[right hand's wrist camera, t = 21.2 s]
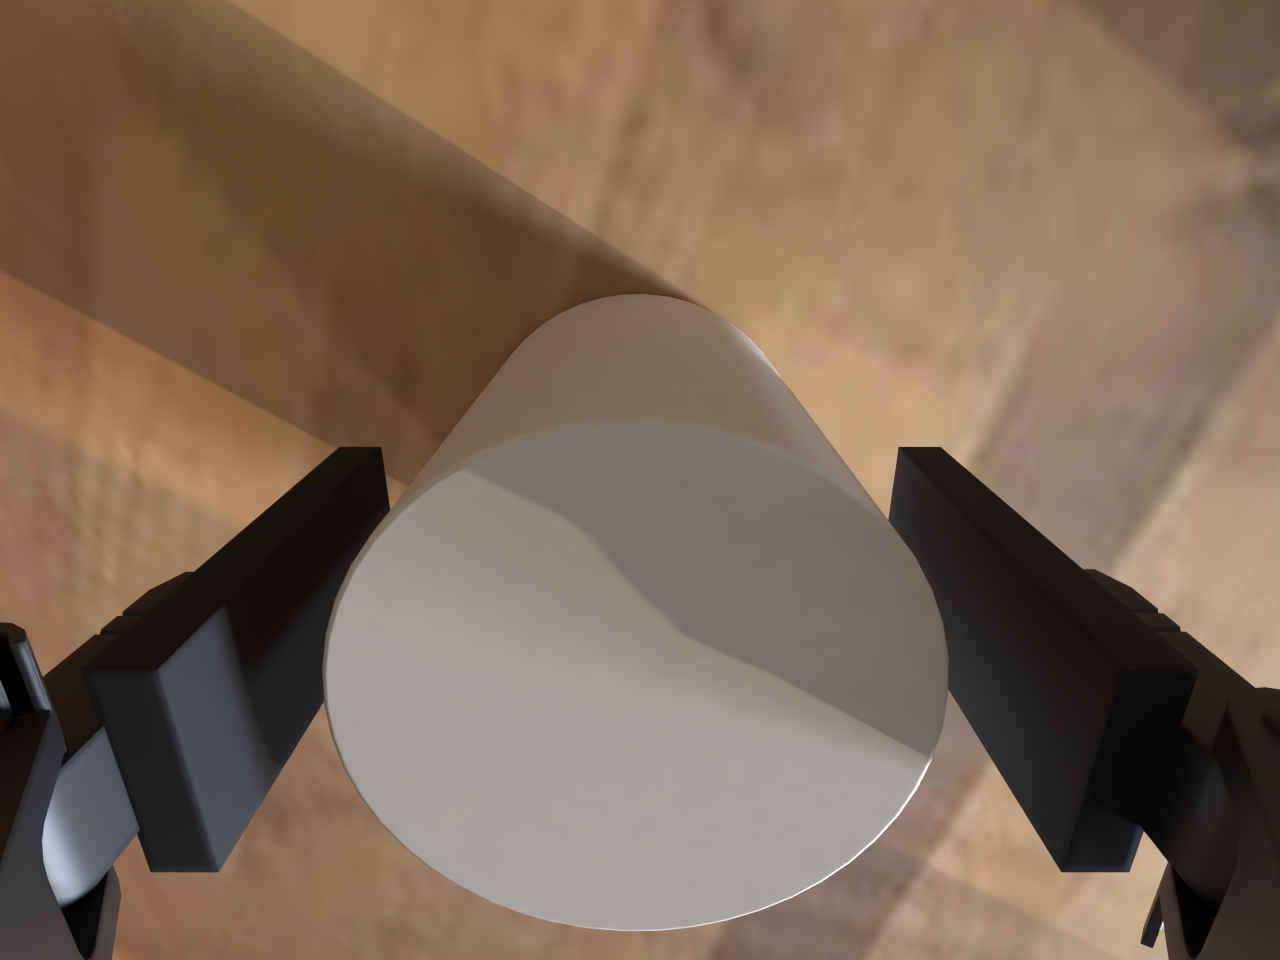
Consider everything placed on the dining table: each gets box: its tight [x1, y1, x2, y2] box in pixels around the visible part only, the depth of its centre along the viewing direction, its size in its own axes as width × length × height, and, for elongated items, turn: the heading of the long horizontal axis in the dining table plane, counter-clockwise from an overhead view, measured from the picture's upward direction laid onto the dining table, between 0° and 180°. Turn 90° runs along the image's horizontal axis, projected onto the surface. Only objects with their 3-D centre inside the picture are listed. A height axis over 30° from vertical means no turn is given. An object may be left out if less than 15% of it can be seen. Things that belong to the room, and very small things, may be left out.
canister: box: [322, 294, 949, 931], centre depth 13 cm, size 7×7×9 cm
